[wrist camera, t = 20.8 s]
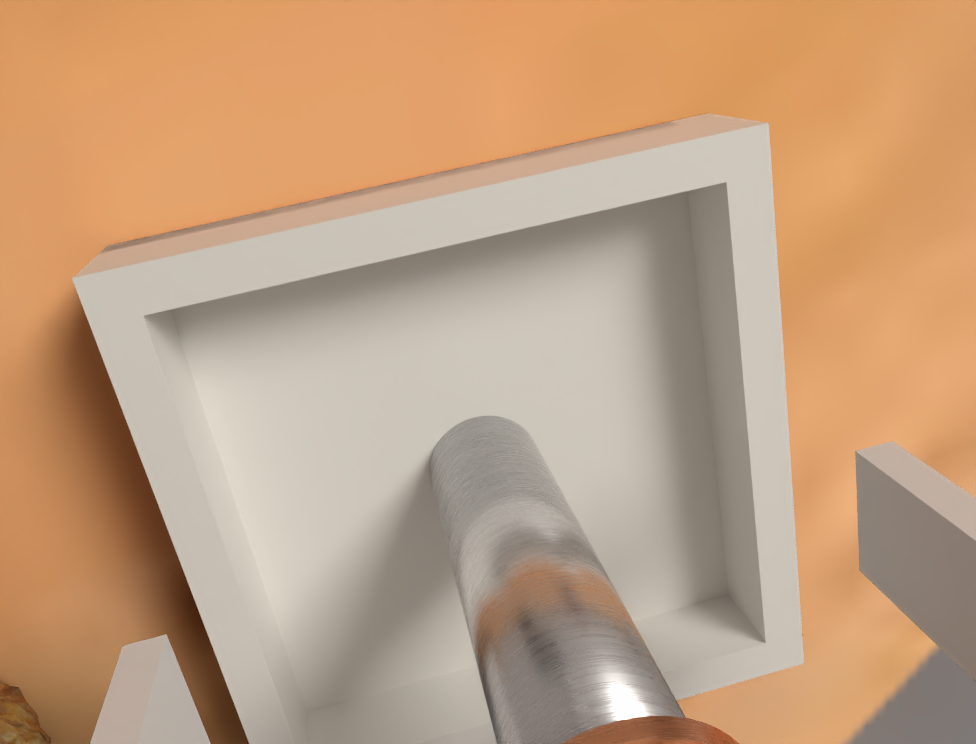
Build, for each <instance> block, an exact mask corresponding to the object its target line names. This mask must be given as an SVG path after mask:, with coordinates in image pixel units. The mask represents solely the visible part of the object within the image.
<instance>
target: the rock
mask: <svg viewBox="0 0 976 744" xmlns="http://www.w3.org/2000/svg"><path fill="white" fill-rule="evenodd" d="M50 741H51V738H50V737H49V736H48V735H47V734H46V733H45V732H44V731H43V730H42V729H41V728H40V726H39V721H38V717H37V714H36V713H35V712H34V711H33V709H32V708H31V707H30V706H29V704H28V703H27V702H26V700H25V698H24V697H23V695H22V693H21V691H20V690H19V688H18V687H13V686H9V685H7V684H5V683H3V682H0V744H50Z"/></svg>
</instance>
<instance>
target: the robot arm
mask: <svg viewBox="0 0 976 744" xmlns="http://www.w3.org/2000/svg"><path fill="white" fill-rule="evenodd" d="M855 453H856V482H857V512H858V542H859V570H860V571H861V572H862V573H863V574H864V575H865V576H866V577H867V578H868V579H869V580H870V581H871V582H872V583H873V584H874V585H875V586H876V587H877V588H878V589H879V590H880V591H882V592H883V593H884V594H885V595H886V596H887V597H888V598H889V599H890V600H891V601H892V602H893V603H894V604H895V605H896V606H897V607H898V608H899V609H900V610H901V611H902V612H903V613H904V614H905V615H906V616H908V617H909V618H910V619H911V620H912V621H913V622H914V623H915V624H916V625H917V626H918V627H919V628H920V629H921V630H922V631H923V632H924V633H925V634H926V635H927V636H928V637H929V638H930V639H931V640H932V641H934V642H935V643H936V644H937V645H938V646H939V647H940V648H941V649H942V650H943V651H944V652H945V653H946V654H947V655H948V656H949V657H950V658H951V659H952V660H953V661H954V662H955V663H957V665H958V666H960V667H961V668H962V669H963V670H964V671H965V672H966V673H967V674H968V675H969V676H970V677H971V678H972V679H973V680H974V681H975V682H976V498H975V497H974V496H972V495H971V494H969V493H968V492H966V491H965V490H963V489H962V488H960V487H959V486H957V485H956V484H954V483H953V482H952V481H950V480H949V479H947V478H946V477H944V476H943V475H941V474H940V473H938V472H937V471H935V470H934V469H932V468H931V467H929V466H928V465H927V464H925V463H924V462H922V461H921V460H919V459H918V458H916V457H915V456H913V455H912V454H910V453H909V452H907V451H906V450H904V449H903V448H902V447H900V446H899V445H897V444H896V443H894V442H893V441H891V442H888V443H884V444H880V445H876V446H873V447H869V448H865V449H861V450H858V451H855ZM90 744H211V743H210V741H209V738H208V736H207V733H206V731H205V728H204V726H203V724H202V721H201V719H200V716H199V714H198V711H197V709H196V706H195V704H194V701H193V699H192V696H191V694H190V691H189V689H188V686H187V684H186V681H185V679H184V676H183V674H182V671H181V669H180V666H179V664H178V661H177V659H176V657H175V654H174V652H173V649H172V647H171V644H170V642H169V639H168V637H167V634H165V635H162V636H158V637H154V638H150V639H147V640H143V641H139V642H135V643H132V644H128V645H124V646H122V649H121V652H120V655H119V658H118V661H117V664H116V667H115V670H114V673H113V676H112V679H111V682H110V685H109V688H108V691H107V694H106V697H105V700H104V703H103V706H102V709H101V712H100V715H99V718H98V721H97V724H96V727H95V730H94V733H93V736H92V739H91V742H90Z"/></svg>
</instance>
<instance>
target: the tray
mask: <svg viewBox="0 0 976 744" xmlns="http://www.w3.org/2000/svg"><path fill="white" fill-rule="evenodd" d="M72 280H73V283H74V285H75V288H76V290H77V293H78V296H79V298H80V301H81V304H82V306H83V309H84V311H85V314H86V317H87V319H88V322H89V325H90V327H91V330H92V332H93V335H94V338H95V340H96V343H97V346H98V348H99V351H100V353H101V356H102V359H103V361H104V364H105V366H106V369H107V372H108V374H109V377H110V380H111V382H112V385H113V387H114V390H115V393H116V395H117V398H118V401H119V403H120V406H121V408H122V411H123V414H124V416H125V419H126V422H127V424H128V427H129V429H130V432H131V435H132V437H133V440H134V443H135V445H136V448H137V450H138V453H139V456H140V458H141V461H142V464H143V466H144V469H145V471H146V474H147V477H148V479H149V482H150V485H151V487H152V490H153V492H154V495H155V498H156V500H157V503H158V506H159V508H160V511H161V513H162V516H163V519H164V521H165V524H166V527H167V529H168V532H169V534H170V537H171V540H172V542H173V545H174V547H175V550H176V553H177V555H178V558H179V561H180V563H181V566H182V568H183V571H184V574H185V576H186V579H187V582H188V584H189V587H190V589H191V592H192V595H193V597H194V600H195V603H196V605H197V608H198V610H199V613H200V616H201V618H202V621H203V624H204V626H205V629H206V631H207V634H208V637H209V639H210V642H211V645H212V647H213V650H214V652H215V655H216V658H217V660H218V663H219V666H220V668H221V671H222V673H223V676H224V679H225V681H226V684H227V687H228V689H229V692H230V694H231V697H232V700H233V702H234V705H235V708H236V710H237V713H238V715H239V718H240V721H241V723H242V726H243V729H244V731H245V734H246V736H247V739H248V742H249V744H497V742H496V738H495V734H494V730H493V726H492V722H491V718H490V714H489V710H488V706H487V702H486V698H485V694H484V690H483V687H482V683H481V679H480V675H479V671H478V667H477V663H476V659H475V655H474V651H473V647H472V643H471V639H470V636H469V632H468V628H467V624H466V620H465V616H464V612H463V608H462V604H461V600H460V596H459V592H458V588H457V585H456V581H455V577H454V573H453V569H452V565H451V561H450V557H449V553H448V549H447V545H446V541H445V537H444V533H443V530H442V526H441V522H440V518H439V514H438V510H437V506H436V502H435V498H434V494H433V490H432V486H431V482H430V478H429V464H430V459H431V455H432V452H433V450H434V448H435V446H436V445H437V443H438V442H439V440H440V439H441V438H442V436H443V435H444V434H445V433H446V432H447V431H449V430H450V429H451V428H452V427H454V426H455V425H457V424H459V423H461V422H463V421H465V420H467V419H470V418H474V417H479V416H499V417H503V418H507V419H509V420H512V421H514V422H516V423H518V424H519V425H520V426H522V427H523V428H524V429H525V430H526V431H527V432H528V433H529V434H530V435H531V437H532V438H533V440H534V442H535V444H536V445H537V447H538V449H539V451H540V453H541V455H542V456H543V458H544V460H545V462H546V464H547V465H548V467H549V469H550V471H551V473H552V475H553V476H554V478H555V480H556V482H557V484H558V486H559V487H560V489H561V491H562V493H563V495H564V496H565V498H566V500H567V502H568V504H569V506H570V507H571V509H572V511H573V513H574V515H575V517H576V518H577V520H578V522H579V524H580V526H581V527H582V529H583V531H584V533H585V535H586V537H587V538H588V540H589V542H590V544H591V546H592V548H593V549H594V551H595V553H596V555H597V557H598V558H599V560H600V562H601V564H602V566H603V568H604V569H605V571H606V573H607V575H608V577H609V579H610V580H611V582H612V584H613V586H614V588H615V589H616V591H617V593H618V595H619V597H620V599H621V600H622V602H623V604H624V606H625V608H626V610H627V611H628V613H629V615H630V617H631V619H632V620H633V622H634V624H635V626H636V628H637V630H638V631H639V633H640V635H641V637H642V639H643V641H644V642H645V644H646V646H647V648H648V650H649V651H650V653H651V655H652V657H653V659H654V661H655V662H656V664H657V666H658V668H659V670H660V672H661V673H662V675H663V677H664V679H665V681H666V682H667V684H668V686H669V688H670V690H671V692H672V693H673V695H674V697H675V699H676V700H680V699H683V698H687V697H690V696H694V695H697V694H700V693H704V692H707V691H711V690H714V689H718V688H721V687H725V686H728V685H732V684H735V683H738V682H742V681H745V680H749V679H752V678H756V677H759V676H763V675H766V674H769V673H773V672H776V671H780V670H783V669H787V668H790V667H794V666H797V665H801V664H804V658H803V642H802V627H801V612H800V596H799V581H798V566H797V551H796V535H795V520H794V505H793V489H792V474H791V459H790V444H789V428H788V413H787V398H786V382H785V367H784V352H783V337H782V321H781V306H780V291H779V275H778V260H777V245H776V230H775V214H774V199H773V184H772V168H771V153H770V138H769V123H766V122H760V121H754V120H747V119H741V118H735V117H728V116H722V115H715V114H709V113H707V114H703V115H698V116H694V117H689V118H685V119H680V120H676V121H671V122H667V123H662V124H657V125H653V126H648V127H644V128H639V129H635V130H630V131H626V132H621V133H617V134H612V135H608V136H603V137H599V138H594V139H589V140H585V141H580V142H576V143H571V144H567V145H562V146H558V147H553V148H549V149H544V150H540V151H535V152H531V153H526V154H521V155H517V156H512V157H508V158H503V159H499V160H494V161H490V162H485V163H481V164H476V165H472V166H467V167H463V168H458V169H453V170H449V171H444V172H440V173H435V174H431V175H426V176H422V177H417V178H413V179H408V180H404V181H399V182H394V183H390V184H385V185H381V186H376V187H372V188H367V189H363V190H358V191H354V192H349V193H345V194H340V195H336V196H331V197H326V198H322V199H317V200H313V201H308V202H304V203H299V204H295V205H290V206H286V207H281V208H277V209H272V210H268V211H263V212H258V213H254V214H249V215H245V216H240V217H236V218H231V219H227V220H222V221H218V222H213V223H209V224H204V225H200V226H195V227H190V228H186V229H181V230H177V231H172V232H168V233H163V234H159V235H154V236H150V237H145V238H141V239H136V240H132V241H127V242H122V243H118V244H113V245H109V246H107V247H106V248H105V249H104V250H103V251H102V252H101V253H99V254H98V255H97V256H96V257H95V258H94V259H93V260H92V261H91V262H89V263H88V264H87V265H86V266H85V267H84V268H83V269H82V270H81V271H80V272H78V273H77V274H76V275H75V276H74V277H73V278H72Z"/></svg>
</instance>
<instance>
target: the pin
mask: <svg viewBox="0 0 976 744" xmlns="http://www.w3.org/2000/svg"><path fill="white" fill-rule="evenodd" d="M429 478H430V482H431V486H432V490H433V494H434V498H435V502H436V506H437V510H438V514H439V518H440V522H441V526H442V530H443V533H444V537H445V541H446V545H447V549H448V553H449V557H450V561H451V565H452V569H453V573H454V577H455V581H456V585H457V588H458V592H459V596H460V600H461V604H462V608H463V612H464V616H465V620H466V624H467V628H468V632H469V636H470V639H471V643H472V647H473V651H474V655H475V659H476V663H477V667H478V671H479V675H480V679H481V683H482V687H483V690H484V694H485V698H486V702H487V706H488V710H489V714H490V718H491V722H492V726H493V730H494V734H495V738H496V742H497V744H739V743H737V742H736V741H735V740H734V739H733V738H732V737H730V736H729V735H727V734H726V733H724V732H723V731H721V730H719V729H717V728H715V727H713V726H710V725H708V724H706V723H703V722H699V721H696V720H692V719H688V718H686V717H685V715H684V713H683V712H682V710H681V708H680V706H679V704H678V703H677V701H676V699H675V697H674V695H673V693H672V692H671V690H670V688H669V686H668V684H667V682H666V681H665V679H664V677H663V675H662V673H661V672H660V670H659V668H658V666H657V664H656V662H655V661H654V659H653V657H652V655H651V653H650V651H649V650H648V648H647V646H646V644H645V642H644V641H643V639H642V637H641V635H640V633H639V631H638V630H637V628H636V626H635V624H634V622H633V620H632V619H631V617H630V615H629V613H628V611H627V610H626V608H625V606H624V604H623V602H622V600H621V599H620V597H619V595H618V593H617V591H616V589H615V588H614V586H613V584H612V582H611V580H610V579H609V577H608V575H607V573H606V571H605V569H604V568H603V566H602V564H601V562H600V560H599V558H598V557H597V555H596V553H595V551H594V549H593V548H592V546H591V544H590V542H589V540H588V538H587V537H586V535H585V533H584V531H583V529H582V527H581V526H580V524H579V522H578V520H577V518H576V517H575V515H574V513H573V511H572V509H571V507H570V506H569V504H568V502H567V500H566V498H565V496H564V495H563V493H562V491H561V489H560V487H559V486H558V484H557V482H556V480H555V478H554V476H553V475H552V473H551V471H550V469H549V467H548V465H547V464H546V462H545V460H544V458H543V456H542V455H541V453H540V451H539V449H538V447H537V445H536V444H535V442H534V440H533V438H532V437H531V435H530V434H529V433H528V432H527V431H526V430H525V429H524V428H523V427H522V426H520V425H519V424H518V423H516V422H514V421H512V420H509V419H507V418H503V417H499V416H479V417H474V418H470V419H467V420H465V421H463V422H461V423H459V424H457V425H455V426H454V427H452V428H451V429H450V430H449V431H447V432H446V433H445V434H444V435H443V436H442V438H441V439H440V440H439V442H438V443H437V445H436V446H435V448H434V450H433V452H432V455H431V459H430V464H429Z"/></svg>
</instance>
